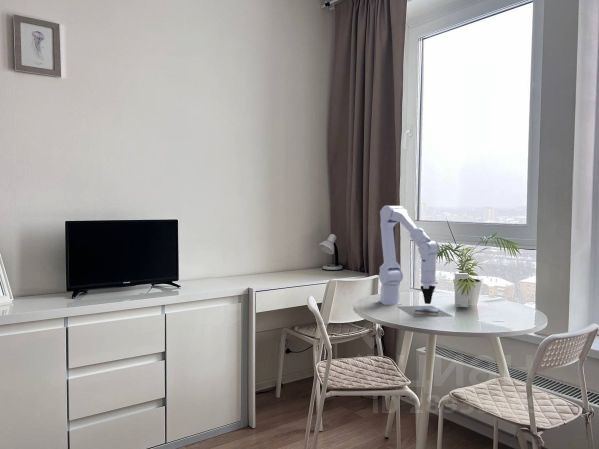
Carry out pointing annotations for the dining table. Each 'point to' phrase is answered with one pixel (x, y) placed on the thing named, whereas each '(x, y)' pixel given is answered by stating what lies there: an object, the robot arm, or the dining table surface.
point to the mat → (411, 311)
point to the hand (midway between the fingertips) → (427, 303)
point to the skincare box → (459, 299)
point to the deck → (427, 311)
